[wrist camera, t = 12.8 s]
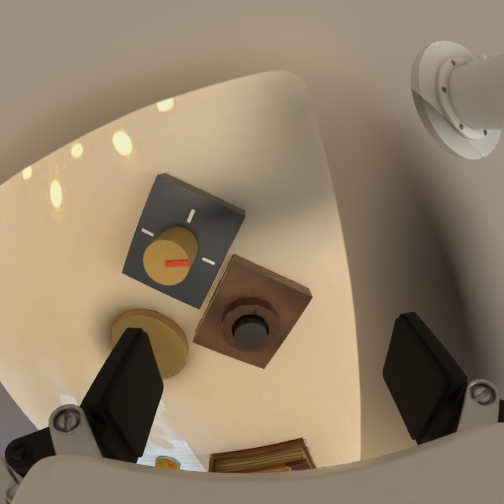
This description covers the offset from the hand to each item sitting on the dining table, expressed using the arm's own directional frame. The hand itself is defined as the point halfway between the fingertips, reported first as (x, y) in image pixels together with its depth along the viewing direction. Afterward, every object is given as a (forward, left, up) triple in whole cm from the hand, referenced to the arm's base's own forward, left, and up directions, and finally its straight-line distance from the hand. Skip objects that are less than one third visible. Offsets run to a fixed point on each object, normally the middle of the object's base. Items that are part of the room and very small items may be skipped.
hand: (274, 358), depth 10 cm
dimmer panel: (+6, -6, -23) cm, 24 cm away
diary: (+47, +28, -23) cm, 59 cm away
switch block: (+11, +5, -23) cm, 26 cm away
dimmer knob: (+6, -6, -20) cm, 22 cm away
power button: (+11, +5, -19) cm, 23 cm away
